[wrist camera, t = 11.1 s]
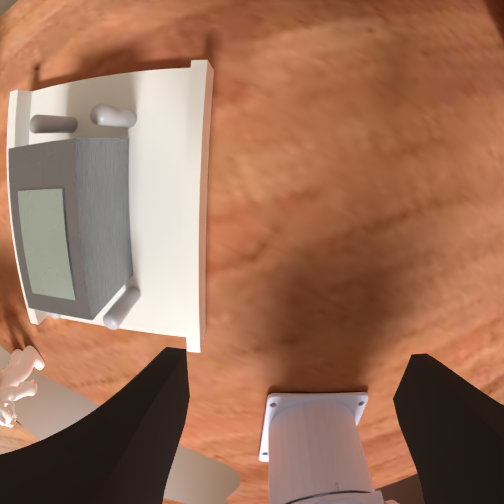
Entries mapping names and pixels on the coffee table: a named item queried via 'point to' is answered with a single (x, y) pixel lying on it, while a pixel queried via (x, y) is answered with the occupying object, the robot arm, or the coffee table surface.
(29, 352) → the flower shoulder figurine
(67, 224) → the grey rectangular block
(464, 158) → the coffee table surface
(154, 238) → the tray
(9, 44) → the coffee table surface
